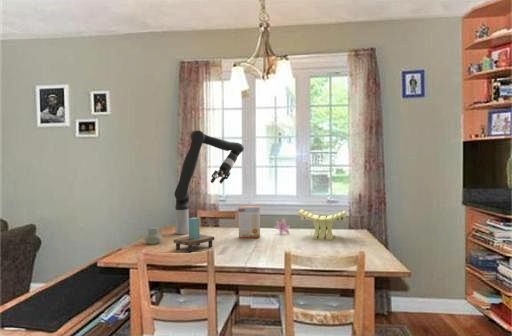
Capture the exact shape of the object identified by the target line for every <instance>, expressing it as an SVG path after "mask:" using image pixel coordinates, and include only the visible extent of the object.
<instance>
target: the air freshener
mask: <svg viewBox="0 0 512 336" xmlns="http://www.w3.org/2000/svg"><path fill="white" fill-rule="evenodd" d="M147 231H148V234H146V236H145V237H144V242H145V243H147V244H148V245H151V244H154V245H158V244H159V243H161V242H162V240H163V237H162V235H161V234H159V228H158V227H156V226H152V227H151V226H150V227H148V230H147Z"/></svg>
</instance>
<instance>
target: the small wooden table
mask: <svg viewBox="0 0 512 336" xmlns="http://www.w3.org/2000/svg"><path fill="white" fill-rule="evenodd" d="M199 234H200V238H197V239H190V238H189V235H188V236H183V237H179V238H175V239H173V244H175V250H176V251H177V250H179V249H180V250H181V246H186V247H187V246H188V247H187V249H188V250H187V252H188V253H191V252H190V251H192V252H193V246H195V245H196V246H197V245H198V246H200V245H201V244H203V243H204V244H205V243H208V245H207V247H208V248H213V241H215V236H212V235H206V234H201V233H199Z"/></svg>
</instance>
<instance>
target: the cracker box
mask: <svg viewBox="0 0 512 336" xmlns="http://www.w3.org/2000/svg"><path fill="white" fill-rule="evenodd" d="M237 209H238V210H237V211H238V238H239V239H247V238H248V239H259V238H260V237H261V219H260V218H261V214H260V211H261V210H260V206H259V205H254V206H253V205H252V206H251V205H250V206H249V205H247V206H246V205H243V206H241V205H240V206H238V208H237Z"/></svg>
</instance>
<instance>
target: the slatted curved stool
mask: <svg viewBox="0 0 512 336" xmlns="http://www.w3.org/2000/svg"><path fill="white" fill-rule="evenodd" d="M297 213H298V217H300V221H304V220H309V221H311V222H312V223H313V225H314V230H315V231H314V233H313V235H312V237H311V240H330V241H332V240H333V237H334V235H333V224H334V223H335V222H337V221H343V222H347V210H346V209H344V210H343V211H340V212H338V213H335V214H331V215H330V214H329V215H319V214H313V213H312V212H309V211H307V210H306V211H305V209H303V208H300V209H299V210H298V212H297Z"/></svg>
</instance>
